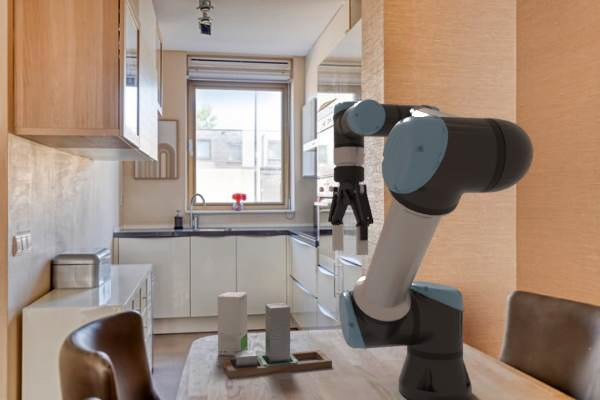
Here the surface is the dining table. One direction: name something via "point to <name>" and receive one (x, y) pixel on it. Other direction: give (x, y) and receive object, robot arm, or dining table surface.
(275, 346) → the brushed grey block
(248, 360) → the grey concrete cube
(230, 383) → the dining table surface
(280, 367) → the wooden holder tray
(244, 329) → the skincare box
